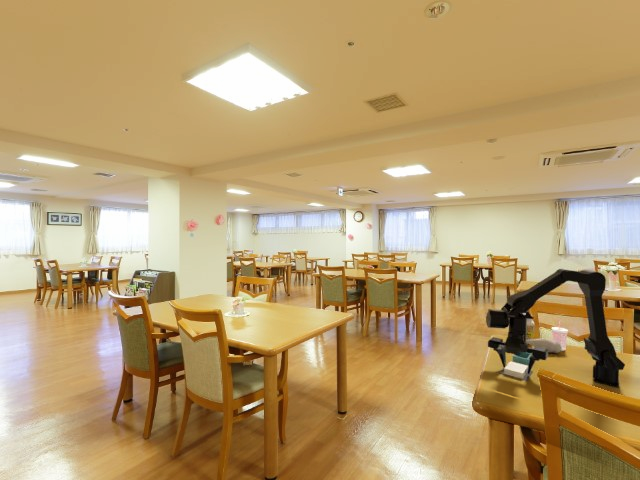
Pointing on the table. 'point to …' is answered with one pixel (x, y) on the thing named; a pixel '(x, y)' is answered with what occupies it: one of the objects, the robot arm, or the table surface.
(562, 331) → the beverage cup
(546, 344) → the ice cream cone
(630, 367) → the table surface
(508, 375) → the mat
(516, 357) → the teal open box
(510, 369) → the lid
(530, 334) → the supplement bottle
